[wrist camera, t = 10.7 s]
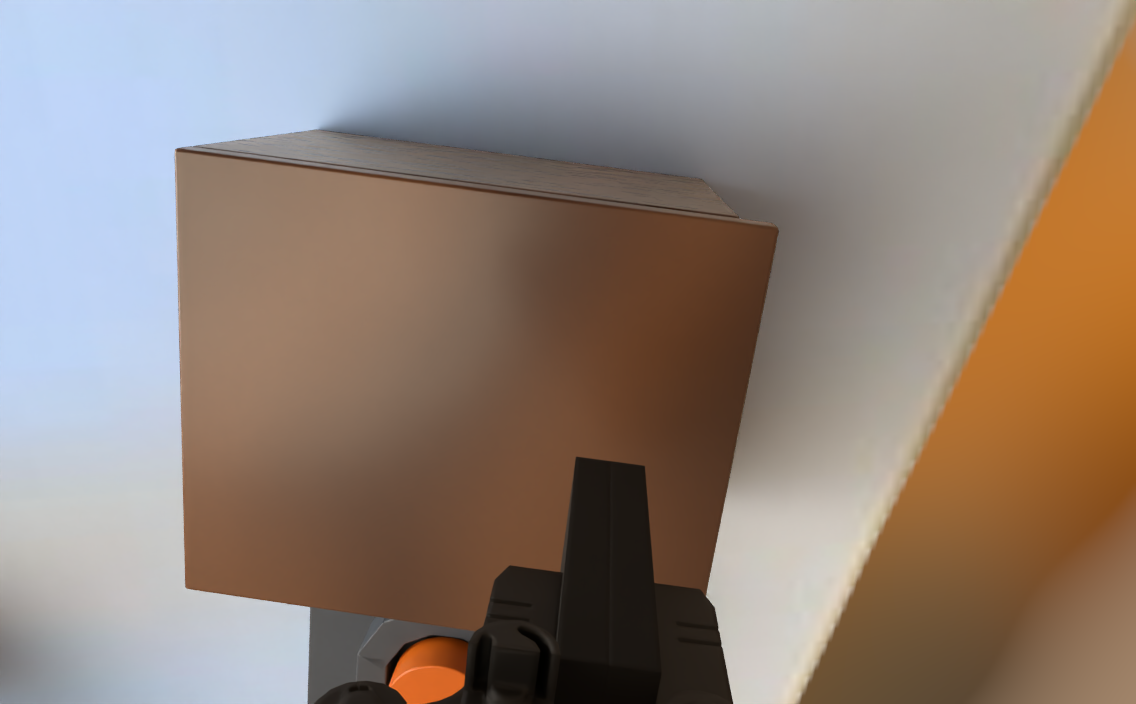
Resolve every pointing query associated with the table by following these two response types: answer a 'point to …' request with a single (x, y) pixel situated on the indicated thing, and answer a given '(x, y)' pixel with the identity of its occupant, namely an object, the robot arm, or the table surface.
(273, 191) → the box lid
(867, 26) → the table surface
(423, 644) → the button
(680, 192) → the box
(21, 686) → the table surface
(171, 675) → the table surface
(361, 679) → the panel
